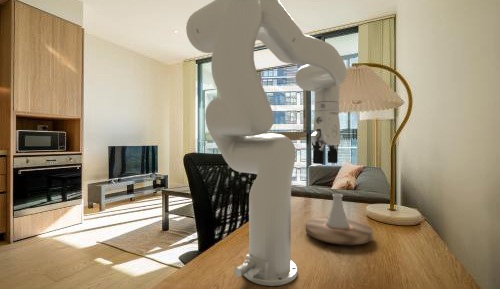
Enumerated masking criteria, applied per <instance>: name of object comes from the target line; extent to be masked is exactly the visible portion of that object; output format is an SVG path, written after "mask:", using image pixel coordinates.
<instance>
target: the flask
mask: <svg viewBox="0 0 500 289" xmlns="http://www.w3.org/2000/svg"><path fill="white" fill-rule="evenodd" d="M332 197H333V198H332V199H333V200H332V205H331V208H330V209H331V210H330V212H329V215H328V216H327V217H328V219H327V222H326V225H327V226H328V227H329V228H335V229H348V228H349V223H348V220H347V219H348V218H347V216H346V212H345V210H344V209H345V208H344V203H343V197H344V195H343V194H341V193H333V194H332Z"/></svg>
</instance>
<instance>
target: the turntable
mask: <svg viewBox="0 0 500 289" xmlns="http://www.w3.org/2000/svg"><path fill="white" fill-rule="evenodd" d="M328 217H329V216H321V217H315V218H310V219H308V220H307V221H306V222H305V226H304V227H305V228H304V229H305V232H306V233H307V234H308V235H309V236H310V237H312V238H314V239H317V240H320V241H322V242H324V241H325V242H324V243H327V242H330V243H329V244H331V243H335V244H334V245H336V244H345V245H344V246H355V245H362V244H366V243H369V242H371V241H372V240H373V235H374V233H373V228H371V227H370V226H369V225H367V224H365V223H364V222H361V221H357V220H353V219H349V218H347V220H348V223H349V228H348V229H335V228H329V227H328V226H327V225H326V222H327V219H328Z"/></svg>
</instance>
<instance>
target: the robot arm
mask: <svg viewBox="0 0 500 289" xmlns="http://www.w3.org/2000/svg"><path fill="white" fill-rule="evenodd" d="M186 22H187V23H186V29H185V32H186V36H187V39H188V41H189V43H190V44H191V45H192V47H194V48H195V49H196V50H197V51H198V52H201V53H204V54H205V53H206V54H211V55H212V56H211V63H210V64H211V65H210V66H211V69H210V70H211V75H212V78H213V82H214V84H215V86H216V89H217V92H218V93H219V96H216V97H214V98H213V99H211V100H210V102H209V103H208V104H207V107H206V109H205V114H204V116H205V117H204V118H205V119H204V120H205V125H206V127H207V131H208V133H209V134H210V136H211V138H212V140H213V142H214V144H215V145H216V146H217V149H218V150H219V152H220V154H221V156H222V158H223V160H224V161H225V163H227V164H226V165H228V167H230V168H231V170H233V171H236V172H238V173H244V174H246V173H247V174H254V175H256V178H255V180H254V181H253V183H252V185H251V187H250V191H249V196H248V254H246V255H245V258H246V259H245V261H244V262H243V263H242V264H240V265H239V266H237V267H235V268H234V274H235V276H236V277H237V278H240V277H242V276H244V277H245V279H247V280H248V281H250V282H251V283H254V284H257V285H261V286H268V287H276V286H277V287H278V286H283V285H286V284H289V283H291V282H293V281H294V280H295V279H296V278H297V276H298V266H297V265H296V263H295V262H294V261H293V260H291V236H292V235H291V232H292V231H291V228H292V226H291V225H292V223H291V216H292V208H291V207H292V204H291V203H292V198H291V197H292V180H293V174H294V173H293V172H294V169H295V168H294V167H295V162H296V158H297V157H296V156H297V154H296V152H297V151H296V147H295V143H294V142H293V140H292V139H290V138H289V137H288V136H286V135H283V134H280V133H267V132H269V131H270V130H271V129H272V127H273V125H274V121H275V120H274V119H275V118H274V113H273V109H272V106H271V104H270V101H269V99H268V96H267V94H266V91H265V89H264V86H263V84H262V80H261V79H260V76H259V74H258V71H257V67H256V64H255V58H254V57H255V56H254V54H255V46H256V41H260V42H261V43H262V44H263V45H264V46H265V47H266V48H267V49H268V50H269V51H270V52H271V53H272V54H273V55H274V56H275V58H276V59H278V60H279V61H280V62H282V63H284V64H290V65H297V66H298V65H299V66H300V65H301V66H300V67H299V68H298V69H297V70H296V73H295V77H294V78H295V83H296V85H297V86H298V87H299V88H300V89H301V90H303V91H307V92H311V91H312V92H314V112H313V113H314V118H313V119H314V120H313V128H312V129H313V130H312V131H313V132H312V134H311V135H310V140H311V146H312V154H313V155H312V158H313V159H312V163H313V164H314V165H323V164H324V158H325V157H324V154H325V151H324V150H323V149H324V147H325V146H327V148H328V150H327V163H328V164H337V163H338V161H339V160H338V155H339V152H338V151H339V146H340V143H341V124H340V116H339V114H340V88H341V87H340V86H341V85H342V84H343V83H344V82H345V81H346V79H347V75H348V74H347V72H348V70H347V66H346V64H345V61H344V59H343V58H342V56H341V54H340V53H339V51H338V50H337V49H336V47H334V46H333V45H332V44H330V43H329V42H327V41H324V40H322V39H319V38H317V37H314V36H310V35H307V34H304V32H303V31H302V30H301V28H300V27H299V26H298V24H297V23H296V22H295V20H294V19H293V18H292V16H291V15H290V13H289V12H288V11H287V10H286V8H285V6H284V5H283V4H282V3H281V1H280V0H213V1H211V2H209V3H208V4H205V5H204V6H202V7H200V8H199V9H198V10H195V11H193V13H191V15H190V16H189V17H188V19H187V21H186Z"/></svg>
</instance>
